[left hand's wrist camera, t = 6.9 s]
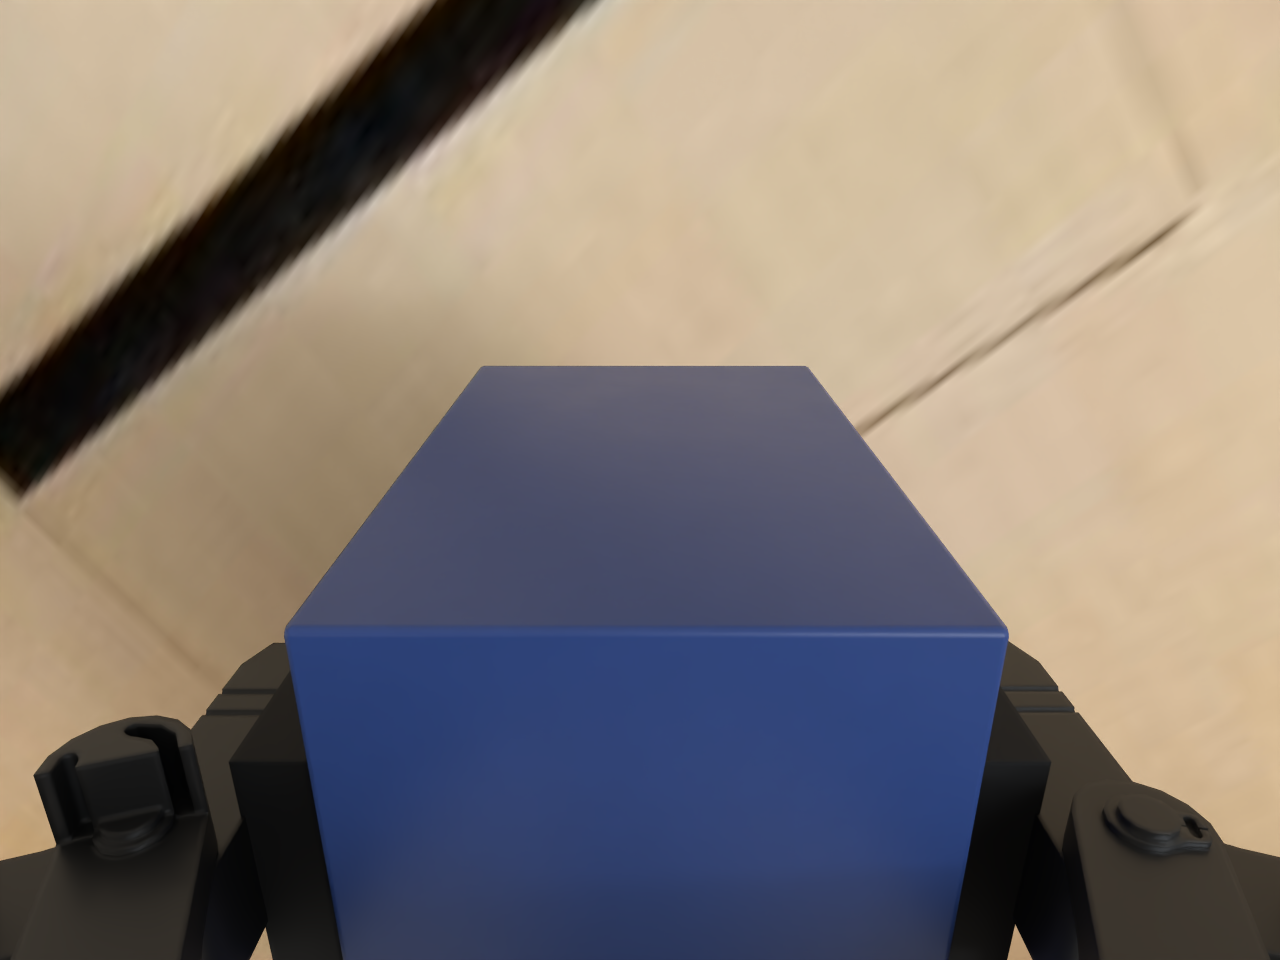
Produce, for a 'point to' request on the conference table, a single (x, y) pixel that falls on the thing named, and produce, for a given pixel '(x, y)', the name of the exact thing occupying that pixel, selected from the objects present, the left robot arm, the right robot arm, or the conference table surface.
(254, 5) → the conference table surface
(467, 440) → the bar
